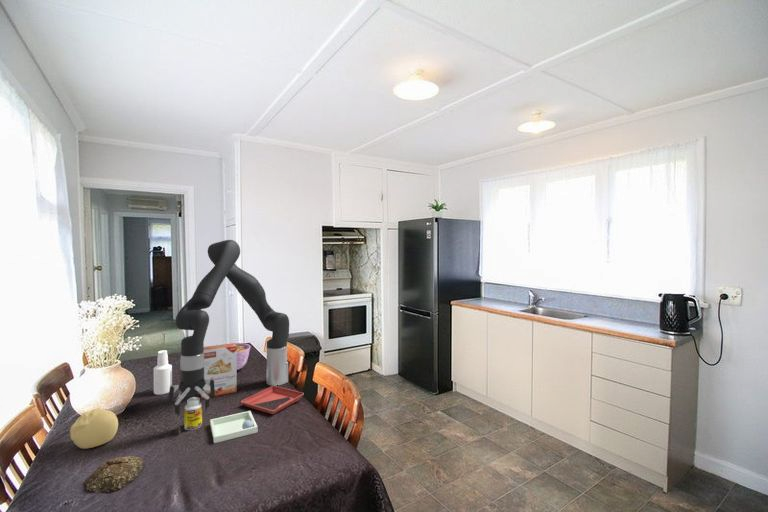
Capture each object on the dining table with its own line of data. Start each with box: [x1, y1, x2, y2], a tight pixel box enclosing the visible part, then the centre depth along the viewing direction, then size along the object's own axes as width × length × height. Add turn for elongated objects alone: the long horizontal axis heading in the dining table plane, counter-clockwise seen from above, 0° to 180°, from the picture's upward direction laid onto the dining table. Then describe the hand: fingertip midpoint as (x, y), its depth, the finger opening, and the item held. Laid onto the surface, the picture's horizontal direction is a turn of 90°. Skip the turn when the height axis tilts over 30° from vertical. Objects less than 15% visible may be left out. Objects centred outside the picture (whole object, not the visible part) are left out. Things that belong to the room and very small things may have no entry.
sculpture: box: [69, 407, 119, 450], centre depth 114 cm, size 12×12×11 cm
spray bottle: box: [153, 349, 173, 396], centre depth 154 cm, size 7×7×18 cm
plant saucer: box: [240, 385, 304, 415], centre depth 144 cm, size 18×18×3 cm
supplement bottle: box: [183, 396, 203, 431], centre depth 124 cm, size 6×6×10 cm
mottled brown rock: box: [84, 455, 146, 493], centre depth 98 cm, size 13×12×5 cm
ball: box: [242, 420, 253, 429], centre depth 122 cm, size 4×4×4 cm
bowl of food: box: [221, 342, 251, 371], centre depth 181 cm, size 20×20×12 cm
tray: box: [209, 410, 259, 444], centre depth 123 cm, size 14×14×2 cm
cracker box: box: [200, 342, 238, 399], centre depth 153 cm, size 14×6×21 cm, turn 122°
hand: (192, 411), depth 124 cm, fingers open, 8 cm apart
